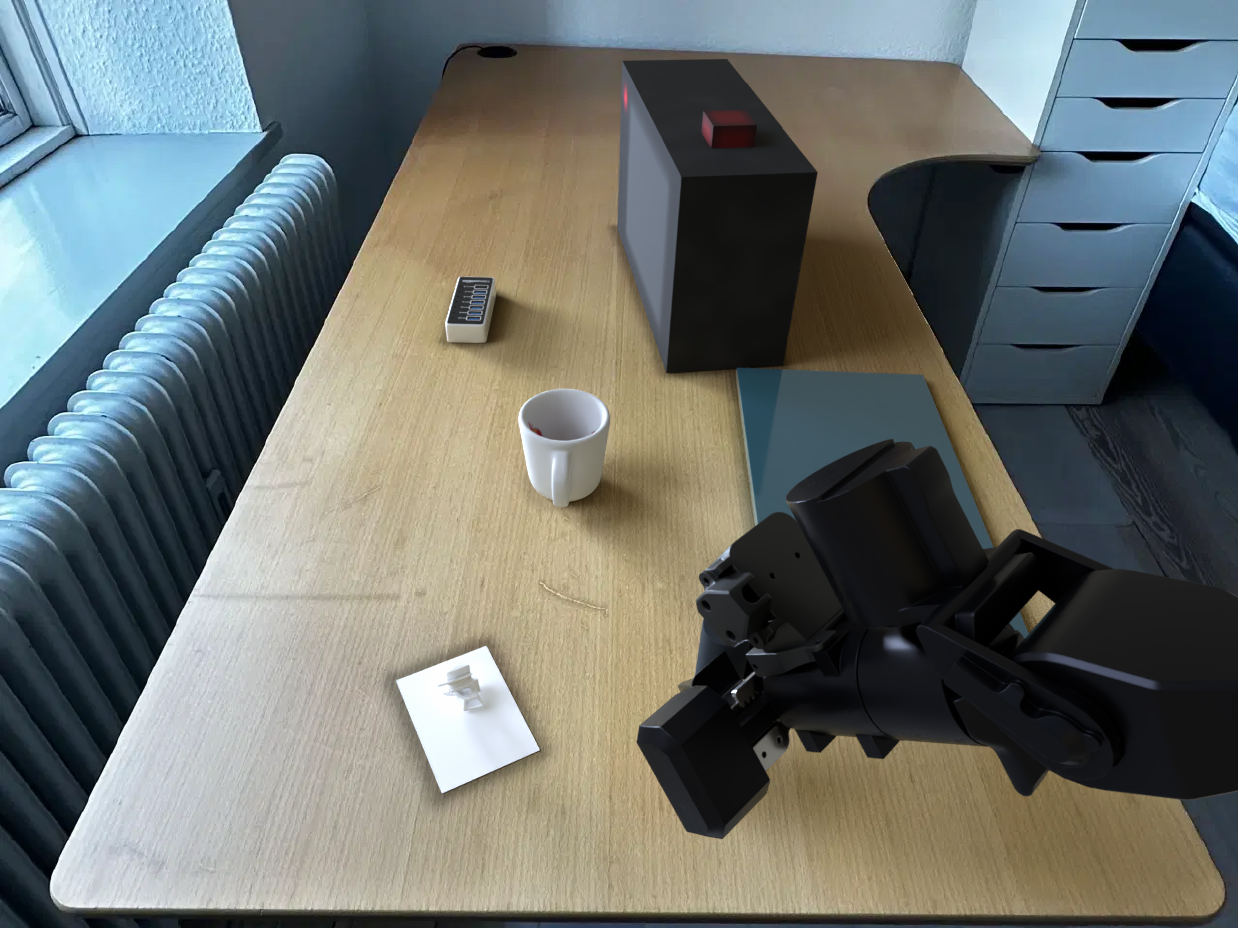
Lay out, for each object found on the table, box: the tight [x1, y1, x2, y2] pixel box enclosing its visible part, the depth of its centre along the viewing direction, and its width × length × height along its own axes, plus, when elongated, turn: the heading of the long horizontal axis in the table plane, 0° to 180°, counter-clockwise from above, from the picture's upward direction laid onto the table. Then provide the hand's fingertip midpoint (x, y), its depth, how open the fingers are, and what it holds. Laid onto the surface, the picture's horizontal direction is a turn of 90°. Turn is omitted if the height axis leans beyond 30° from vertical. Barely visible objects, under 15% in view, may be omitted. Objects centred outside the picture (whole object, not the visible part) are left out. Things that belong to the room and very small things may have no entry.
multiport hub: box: [444, 276, 497, 344], centre depth 103 cm, size 4×11×2 cm, turn 0°
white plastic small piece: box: [437, 664, 486, 712], centre depth 63 cm, size 3×3×3 cm
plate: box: [735, 367, 1030, 638], centre depth 81 cm, size 38×20×1 cm, turn 179°
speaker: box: [616, 58, 819, 374], centre depth 103 cm, size 15×35×24 cm, turn 9°
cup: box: [518, 388, 611, 508], centre depth 79 cm, size 11×8×8 cm
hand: (700, 676), depth 54 cm, fingers closed on sponge wand, 3 cm apart
